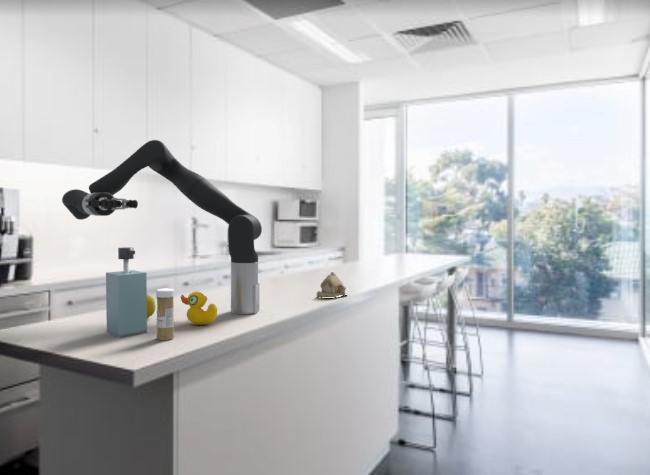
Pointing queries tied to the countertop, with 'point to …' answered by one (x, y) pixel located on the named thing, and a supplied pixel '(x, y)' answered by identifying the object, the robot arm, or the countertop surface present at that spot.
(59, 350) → the countertop surface
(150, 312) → the lemon
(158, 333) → the sprinkles bottle
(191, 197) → the robot arm
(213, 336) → the countertop surface
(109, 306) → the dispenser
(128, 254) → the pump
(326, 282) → the ceramic model
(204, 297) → the duckling
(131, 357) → the countertop surface
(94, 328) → the countertop surface
